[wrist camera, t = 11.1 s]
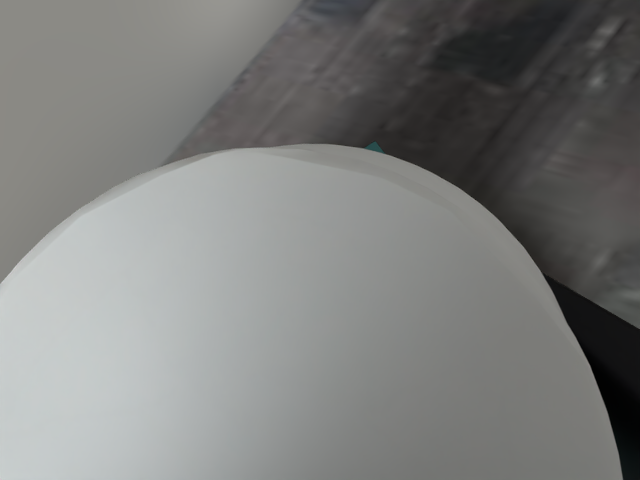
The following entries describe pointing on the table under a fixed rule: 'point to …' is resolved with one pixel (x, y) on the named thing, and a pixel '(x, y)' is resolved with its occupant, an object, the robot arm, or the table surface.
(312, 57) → the table surface
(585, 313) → the robot arm
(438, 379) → the pill bottle
